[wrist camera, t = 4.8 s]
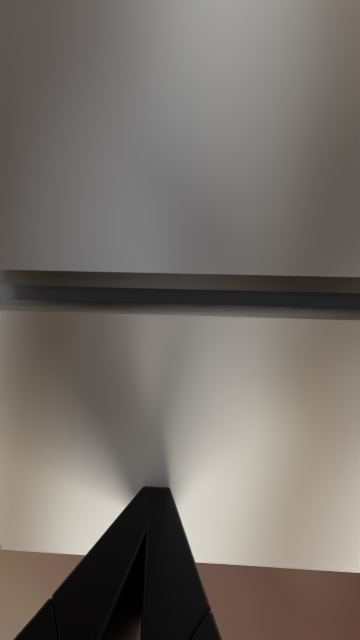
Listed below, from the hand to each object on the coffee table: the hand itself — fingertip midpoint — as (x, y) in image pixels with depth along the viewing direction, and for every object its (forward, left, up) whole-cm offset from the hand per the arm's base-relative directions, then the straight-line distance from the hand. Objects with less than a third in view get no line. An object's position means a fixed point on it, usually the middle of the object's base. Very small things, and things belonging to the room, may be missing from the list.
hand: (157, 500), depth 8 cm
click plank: (-4, -2, -2) cm, 5 cm away
